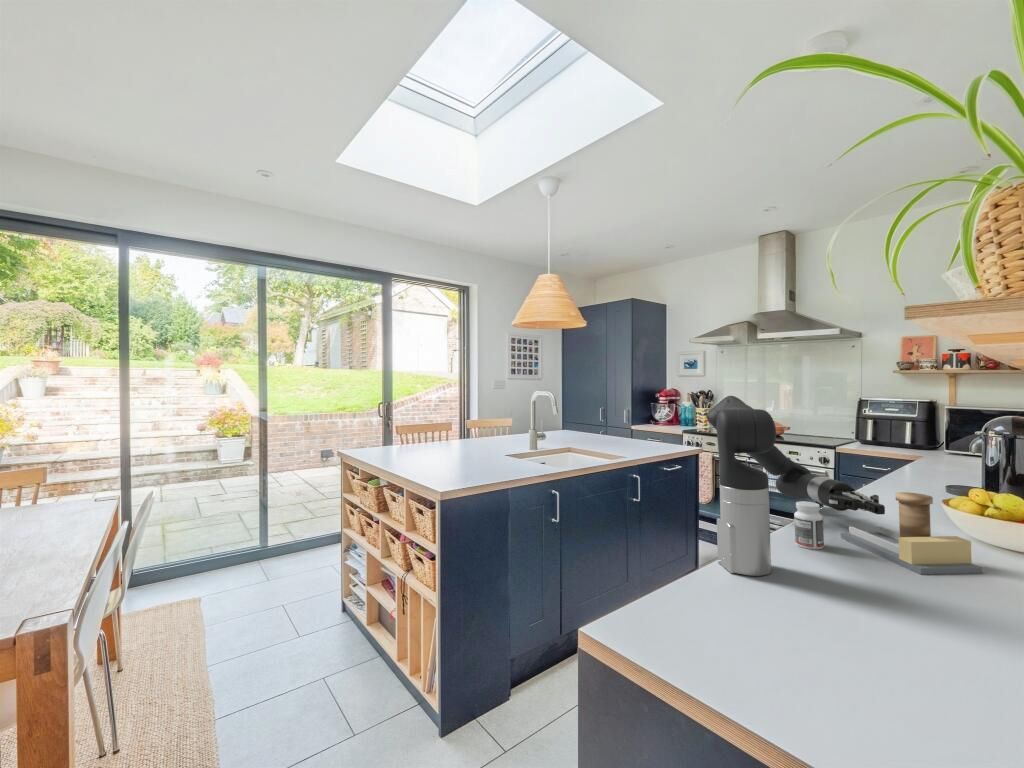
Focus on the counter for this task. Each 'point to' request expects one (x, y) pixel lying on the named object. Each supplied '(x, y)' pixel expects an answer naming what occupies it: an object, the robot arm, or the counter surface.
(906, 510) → the knob
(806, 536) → the pill bottle
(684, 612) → the counter surface
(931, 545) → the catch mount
